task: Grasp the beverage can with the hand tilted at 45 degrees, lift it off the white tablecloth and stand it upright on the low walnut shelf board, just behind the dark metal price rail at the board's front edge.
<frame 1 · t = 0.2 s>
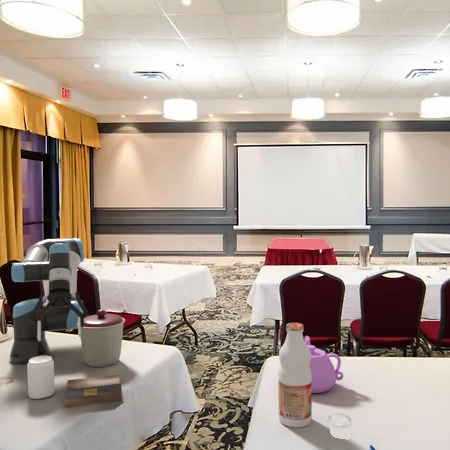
hand: (59, 337, 165), 15 cm above the table, tool tilted 35°, fingers open, 13 cm apart
teapot: (309, 384, 161), on the table
fruit juice: (295, 421, 135), on the table
shelf board: (93, 393, 155), on the table
canister: (102, 363, 184), on the table
beverage can: (41, 395, 154), on the table
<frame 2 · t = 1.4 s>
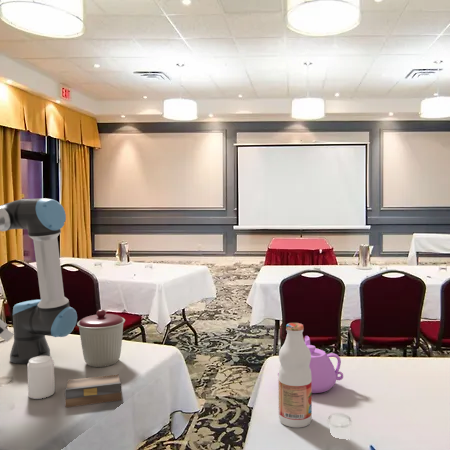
hand: (7, 332, 148), 22 cm above the table, tool tilted 45°, fingers open, 13 cm apart
nothing on the table moved.
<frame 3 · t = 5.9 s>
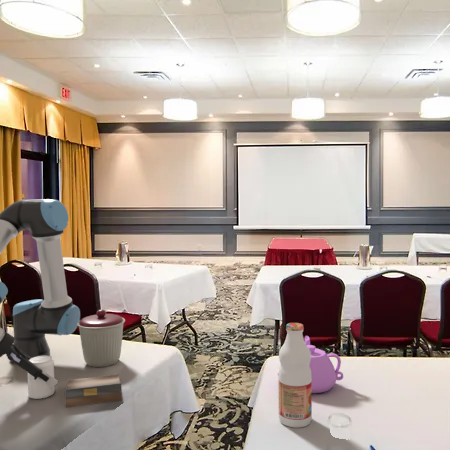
hand: (52, 381, 156), 4 cm above the table, tool tilted 45°, fingers closed on beverage can, 6 cm apart
beverage can: (41, 395, 154), on the table, touching gripper
everything else where it was.
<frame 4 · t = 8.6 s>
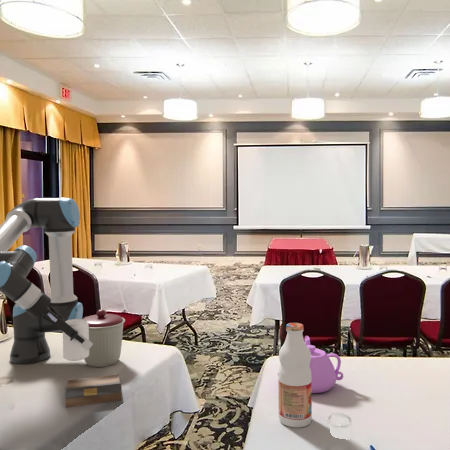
hand: (87, 344, 155), 16 cm above the table, tool tilted 45°, fingers closed on beverage can, 6 cm apart
beverage can: (76, 358, 154), point 12 cm above the table, touching gripper
everything else where it was.
when the fingers open (8 cm above the table, at t = 11.4 s): beverage can moves 3 cm, resting on shelf board.
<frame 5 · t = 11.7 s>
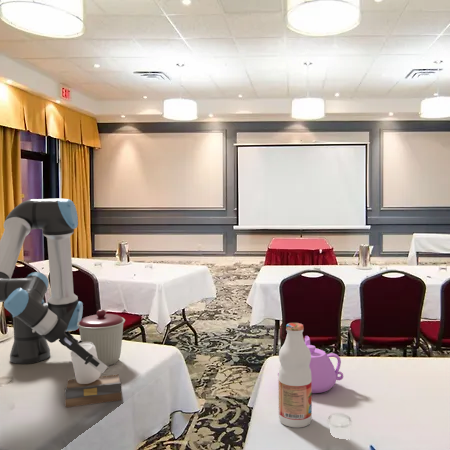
hand: (98, 363, 157), 9 cm above the table, tool tilted 45°, fingers open, 12 cm apart
beverage can: (89, 379, 159), point 3 cm above the table, touching gripper, shelf board
everything else where it was.
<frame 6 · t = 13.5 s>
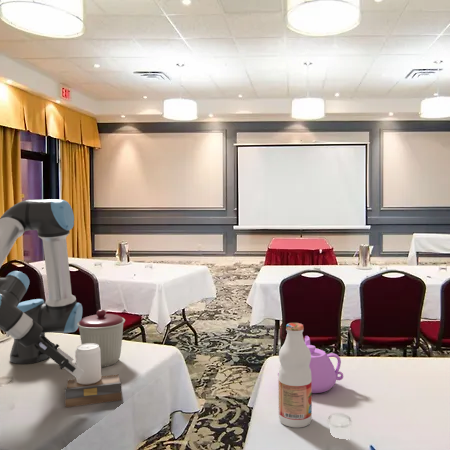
hand: (75, 368, 153), 9 cm above the table, tool tilted 45°, fingers open, 13 cm apart
beverage can: (88, 381, 159), point 2 cm above the table, touching shelf board
everything else where it was.
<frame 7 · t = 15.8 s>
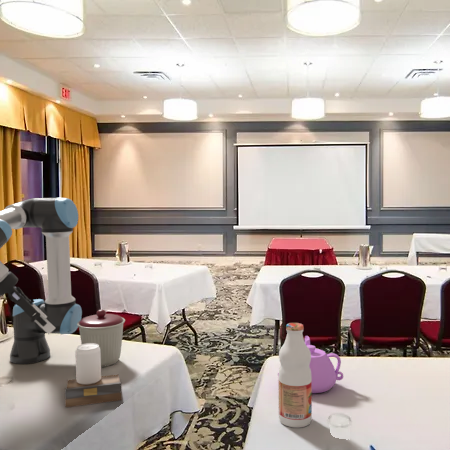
hand: (47, 325, 151), 24 cm above the table, tool tilted 40°, fingers open, 13 cm apart
nothing on the table moved.
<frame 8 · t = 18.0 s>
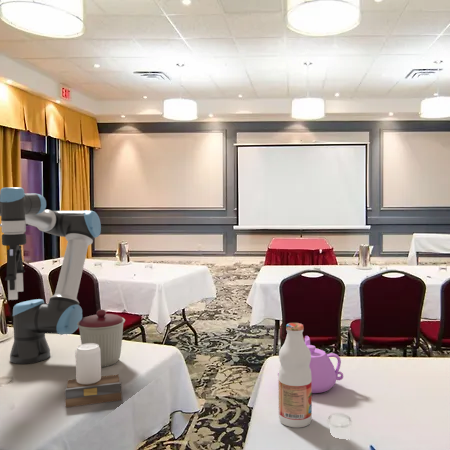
hand: (16, 295, 160), 32 cm above the table, tool pointing down, fingers open, 13 cm apart
nothing on the table moved.
at the end: beverage can inside the target area on the shelf board (4.1 cm from its centre), point 2.3 cm above the shelf board's base; beverage can touching shelf board; beverage can tilted 0° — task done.
